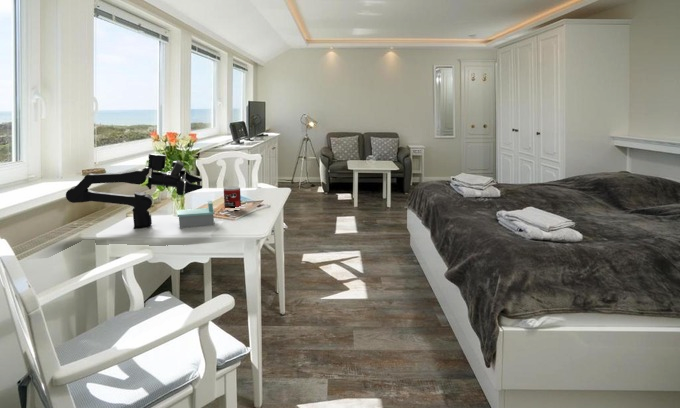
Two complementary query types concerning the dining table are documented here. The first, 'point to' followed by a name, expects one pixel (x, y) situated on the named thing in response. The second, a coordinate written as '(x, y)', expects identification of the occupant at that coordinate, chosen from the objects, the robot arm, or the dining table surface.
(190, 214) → the lid
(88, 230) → the dining table surface
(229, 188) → the canned food
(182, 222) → the tub
